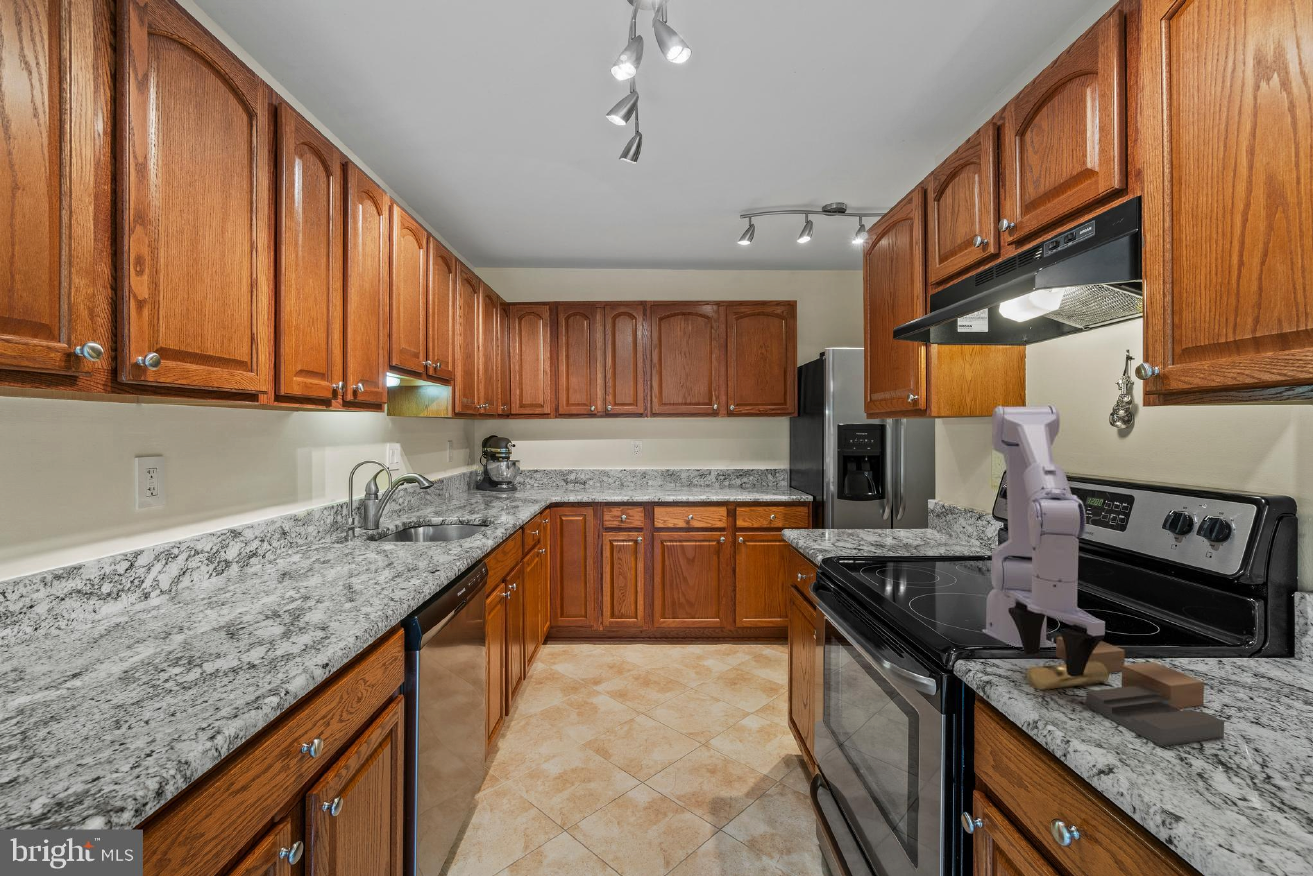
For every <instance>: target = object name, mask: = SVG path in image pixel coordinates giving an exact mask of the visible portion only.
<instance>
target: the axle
mask: <svg viewBox="0 0 1313 876" xmlns="http://www.w3.org/2000/svg"><path fill="white" fill-rule="evenodd" d="M1025 671H1026V673H1025V677H1026V681H1027V683H1028V684H1029V686H1030V687H1033V688H1035V689H1036V690H1038V691H1041V690H1053V689H1059V688H1067V687H1068V688H1069V687H1078V686H1079V687H1080V686H1085V685H1086V686H1087V685H1093V684H1104V683H1107V682H1108V681H1109V679H1110V678H1109V677H1110V674H1109V673H1110V672H1108V670H1107V668H1106V667H1105V666H1104V665H1103V664H1102V663H1101V662H1098V661H1089V662H1087V665H1086V667H1085V670H1084V673H1083V676H1074V677H1072V676H1070V675H1068V674H1067V669H1066V663H1061V664H1060V663H1059V664H1052V665H1044V666H1043V665H1042V666H1034V667H1033V666H1031V667H1028V668H1027V670H1025Z"/></svg>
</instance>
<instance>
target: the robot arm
mask: <svg viewBox="0 0 1313 876" xmlns="http://www.w3.org/2000/svg"><path fill="white" fill-rule="evenodd" d="M1060 417H1061V416H1060V413H1059V409H1057V408H1056V407H1055V405H1048V406H1001V405H999V406H996V407H995V408H994V410H993V412H992V417H991V438H992V439H991V440H992V446H993V450H994V451H995V452H997V453H999V454H1001V455H1003V459H1004V463H1005V472H1006V473H1005V474H1006V475H1005V476H1006V500H1007V502H1006V505H1007V529H1008V531H1007V533H1008V535H1007V536H1008V540H1006V541H1005V542H1003V543H1001V544H999V545H998V546H996V547H995V548H994V549H993V551H992V553H991V565H990V566H991V567H990V578H991V579H990V580H991V584H992V586H993V588H994V589H991V591H990V592H989V594H988V595H987V597H986V607H985V608H986V609H985V610H986V612H985V613H986V614H985V619H986V620H985V621H986V622H985V629H982V631H981V632H982V633H984V634H985V635H988V636H989V637H992V638H994V639H996V640H998V641H1000V642H1002V643H1003V644H1006V645H1008V644H1009V645H1008V646H1010V645H1011V646H1010V647H1012V646H1023V649H1024V651H1023V652H1024V655H1038V654H1039V652H1040V650H1039V649H1040V647H1056V643H1055V642H1052V641H1050V640H1048V639H1047V617H1049V618H1052V619H1055V620H1058V621H1060V622H1063V623H1065V624H1067V625H1070V626H1071V627H1065V628H1059V633H1060V635H1061V636H1060V637H1062V638H1063V642H1064V646H1065V651H1066V661H1065V664H1066V669H1067V674H1068V675H1070V676H1072V677H1074V676H1083V673H1084V670H1085V667H1086V665H1087V662H1088V660H1089V658H1090V656H1091V654H1092V652H1093V650H1094V649H1095V648H1096V646H1097V645H1098V644H1099V643H1100V641H1103V639H1104V638H1105V635H1106V634H1105V633H1106V621H1104V620H1102V619H1100V618H1096V617H1095V616H1093V615H1091V614H1090V613H1088V612H1086V611H1084V610H1083V609H1081V608H1079V607H1078V579H1079V578H1078V577H1079V576H1078V575H1079V573H1078V572H1079V541H1080V539H1082V538H1083V537H1084V536H1085V533H1086V529H1087V517H1086V510H1085V506H1084V503H1083V502H1082V500H1081V499H1079V498H1078V495H1076V494H1072V491H1071V488H1070V485H1069V482H1068V478H1067V475H1066V472H1065V469H1064V468H1063V467H1061V466H1060V465H1059V464H1056V463H1055V462H1054V456H1053V450H1052V445H1053V444H1054V442H1055V439H1056V438H1057V436H1058V434H1059V432H1060V425H1061V421H1060V420H1061V419H1060ZM1008 556H1010V557H1011V558H1010V557H1008ZM1012 557H1022V558H1012ZM1023 557H1024V558H1032V559H1024V558H1023Z"/></svg>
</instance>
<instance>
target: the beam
mask: <svg viewBox="0 0 1313 876" xmlns="http://www.w3.org/2000/svg"><path fill="white" fill-rule="evenodd" d="M1055 644H1056V648H1055V652H1056V653H1055V657H1057V658H1059V659H1061V660H1062V661H1065V662H1066V651H1065V646H1064V642H1063V638H1062V636H1057V637H1056V643H1055ZM1125 652H1126V651H1125V649H1123V648H1120V647H1117V646H1114V645H1113V644H1110V643H1107V642H1105V641H1103V640H1101V641H1100V643H1099V644H1098V645H1097V646H1096V648H1095V649H1094V650H1093V652H1092V654H1091V656H1090V658H1089V660H1088V662H1089V661H1098V662H1101V663H1102V664H1103V665H1104V666H1105V667H1106V668H1107V670H1108V673H1116V672H1121V687H1130V686H1138V685H1144V686H1146V687H1148V688H1151V689H1153V690H1155V691H1157V692H1160V693H1161V696H1162V697H1165V698H1167V699H1169V700H1170V706H1172V707H1174V708H1176V709H1183V708H1191V707H1199V706H1204V697H1205V681H1202V680H1200V679H1198V678H1195V677H1193V676H1190V675H1188V674H1185V673H1183V672H1181V671H1178V670H1175V669H1174V668H1173V669H1172V668H1170V667H1168V666H1165V665H1163V664H1160V663H1158V662H1155V661H1149V662H1148V661H1147V662H1140V663H1139V662H1138V663H1130V664H1125V658H1126V657H1125Z"/></svg>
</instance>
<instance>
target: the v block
mask: <svg viewBox="0 0 1313 876" xmlns="http://www.w3.org/2000/svg"><path fill="white" fill-rule="evenodd" d="M1085 695H1086V696H1085V697H1086V698H1085V707H1086V708H1087V709H1089V710H1092V711H1094V712H1095V713H1097V714H1099V715H1101V716H1103V717H1105V718H1107V719H1108V720H1110V721H1113V722H1114V723H1116V724H1118V725H1120V726H1122V727H1124V728H1126V729H1128V730H1129V731H1131V732H1133V733H1134V734H1137V735H1138V736H1141V737H1142V738H1144V739H1146V740H1148V741H1150V742H1152V743H1154V744H1156V745H1158V746H1160V747H1161V748H1163V747H1171V746H1177V745H1183V744H1190V743H1197V742H1205V741H1211V740H1219V739H1224V738H1225V737H1224V736H1225V720H1223V719H1220V718H1218V717H1215V716H1214V715H1211V714H1210V713H1207V712H1205V711H1202V710H1201V711H1196V710H1193V709H1186V710H1181V709H1180V708H1177V709H1176V708H1174V707H1172V706H1170V700H1169V699H1167V698H1165V697H1162V696H1161V693H1160V692H1157V691H1155V690H1153V689H1151V688H1148V687H1146V686H1144V685H1138V686H1130V687H1122V686H1121V687H1115V688H1113V687H1112V688H1106V689H1098V690H1096V689H1095V690H1090V691H1086V693H1085Z"/></svg>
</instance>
